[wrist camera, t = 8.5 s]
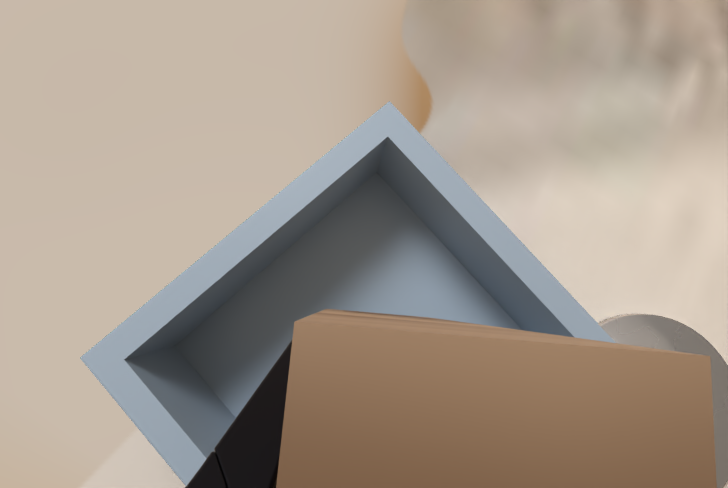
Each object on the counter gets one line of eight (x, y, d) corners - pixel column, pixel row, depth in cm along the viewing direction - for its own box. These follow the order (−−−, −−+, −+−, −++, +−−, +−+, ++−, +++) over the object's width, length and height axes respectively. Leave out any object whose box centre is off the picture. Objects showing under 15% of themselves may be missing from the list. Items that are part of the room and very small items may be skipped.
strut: (422, 424, 15) (735, 864, 3) (316, 417, 15) (235, 858, 3) (428, 317, 16) (709, 355, 4) (326, 308, 15) (294, 321, 4)
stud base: (650, 554, 18) (715, 607, 15) (514, 404, 19) (549, 425, 16) (767, 413, 20) (850, 435, 16) (636, 276, 20) (692, 272, 17)
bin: (355, 586, 17) (363, 700, 12) (149, 342, 18) (79, 357, 13) (571, 360, 19) (651, 381, 14) (376, 150, 20) (389, 101, 15)
